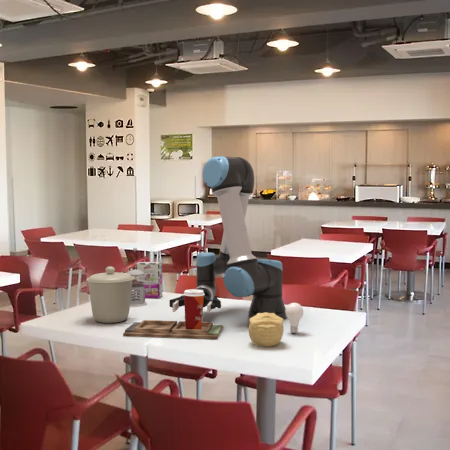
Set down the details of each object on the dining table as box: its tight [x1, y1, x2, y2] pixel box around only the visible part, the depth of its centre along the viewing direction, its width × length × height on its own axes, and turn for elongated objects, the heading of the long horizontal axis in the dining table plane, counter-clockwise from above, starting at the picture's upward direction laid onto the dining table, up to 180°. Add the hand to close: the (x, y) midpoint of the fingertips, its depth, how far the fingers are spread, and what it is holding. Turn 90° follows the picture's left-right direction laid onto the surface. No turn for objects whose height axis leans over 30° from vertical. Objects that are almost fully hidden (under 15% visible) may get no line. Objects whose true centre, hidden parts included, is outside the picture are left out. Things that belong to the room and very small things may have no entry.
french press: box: [126, 247, 151, 308], centre depth 259 cm, size 10×12×25 cm
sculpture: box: [248, 312, 285, 348], centre depth 196 cm, size 12×12×11 cm
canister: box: [86, 265, 135, 324], centre depth 230 cm, size 18×18×21 cm
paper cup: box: [182, 288, 205, 330], centre depth 211 cm, size 8×8×14 cm
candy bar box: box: [135, 261, 163, 299], centre depth 275 cm, size 11×5×16 cm, turn 81°
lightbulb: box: [285, 302, 304, 335], centre depth 210 cm, size 6×6×11 cm
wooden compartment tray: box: [122, 319, 224, 340], centre depth 212 cm, size 33×16×2 cm, turn 82°
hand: (190, 308), depth 207 cm, fingers open, 11 cm apart
